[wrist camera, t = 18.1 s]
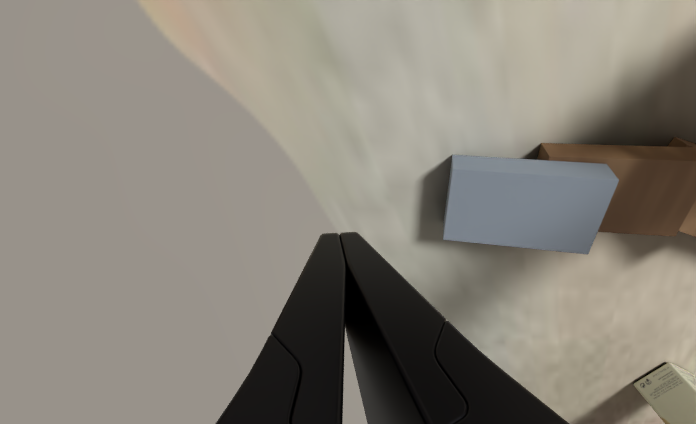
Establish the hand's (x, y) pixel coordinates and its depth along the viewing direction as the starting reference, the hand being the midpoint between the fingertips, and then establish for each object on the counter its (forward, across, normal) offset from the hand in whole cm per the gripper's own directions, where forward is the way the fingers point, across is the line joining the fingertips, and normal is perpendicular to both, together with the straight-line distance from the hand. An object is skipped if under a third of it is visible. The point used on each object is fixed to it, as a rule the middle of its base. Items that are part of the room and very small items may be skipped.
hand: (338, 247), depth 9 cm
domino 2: (+11, -13, +5) cm, 18 cm away
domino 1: (+11, -8, +6) cm, 15 cm away
